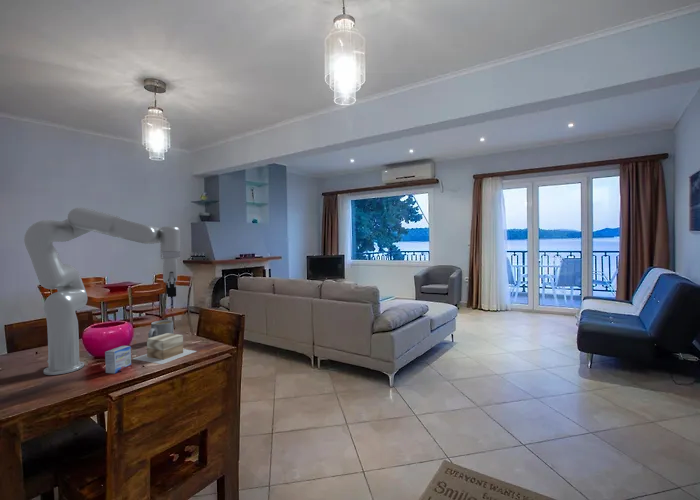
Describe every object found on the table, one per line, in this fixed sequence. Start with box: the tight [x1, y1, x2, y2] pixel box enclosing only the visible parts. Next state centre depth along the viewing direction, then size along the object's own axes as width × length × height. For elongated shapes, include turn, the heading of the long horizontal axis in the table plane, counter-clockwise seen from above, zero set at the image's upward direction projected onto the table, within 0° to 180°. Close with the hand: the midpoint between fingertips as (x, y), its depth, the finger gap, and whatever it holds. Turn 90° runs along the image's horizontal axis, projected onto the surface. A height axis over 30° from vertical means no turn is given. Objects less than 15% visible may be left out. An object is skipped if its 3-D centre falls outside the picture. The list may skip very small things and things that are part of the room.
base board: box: [132, 348, 197, 365], centre depth 153 cm, size 18×18×1 cm
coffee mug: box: [147, 319, 174, 338], centre depth 175 cm, size 13×10×10 cm
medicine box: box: [104, 345, 132, 374], centre depth 138 cm, size 8×4×9 cm, turn 168°
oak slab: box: [146, 343, 184, 360], centre depth 153 cm, size 10×10×4 cm
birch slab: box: [146, 333, 184, 350], centre depth 153 cm, size 10×10×4 cm
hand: (171, 295), depth 148 cm, fingers open, 9 cm apart
